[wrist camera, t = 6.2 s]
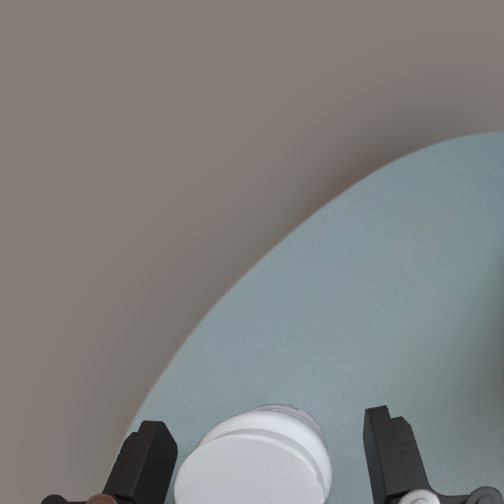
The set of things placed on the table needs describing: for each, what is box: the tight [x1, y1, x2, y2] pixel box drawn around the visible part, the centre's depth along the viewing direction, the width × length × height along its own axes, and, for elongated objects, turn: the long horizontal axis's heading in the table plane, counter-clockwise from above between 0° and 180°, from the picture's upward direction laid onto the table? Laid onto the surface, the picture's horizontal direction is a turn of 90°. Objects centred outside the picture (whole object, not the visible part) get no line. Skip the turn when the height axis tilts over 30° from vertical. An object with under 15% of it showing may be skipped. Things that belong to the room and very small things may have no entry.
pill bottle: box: [174, 404, 332, 504], centre depth 10 cm, size 5×5×8 cm
